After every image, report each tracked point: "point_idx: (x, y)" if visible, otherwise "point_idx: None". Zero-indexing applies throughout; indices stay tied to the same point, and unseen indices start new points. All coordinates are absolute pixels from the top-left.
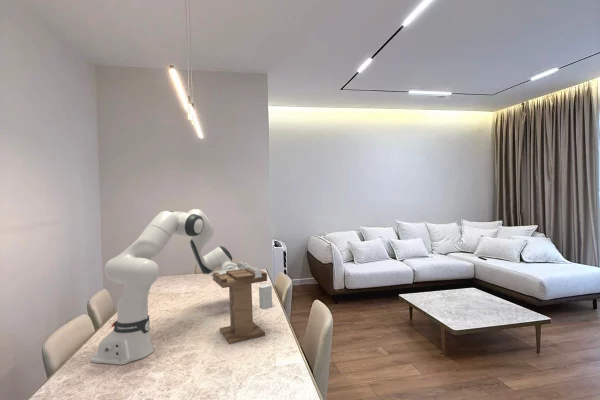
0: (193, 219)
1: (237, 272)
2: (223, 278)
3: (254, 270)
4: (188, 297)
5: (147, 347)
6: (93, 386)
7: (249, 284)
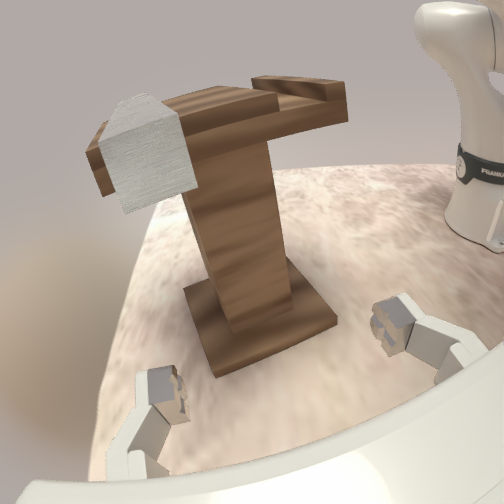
0: None
1: (210, 97)
2: (264, 77)
3: (143, 93)
4: None
5: (450, 204)
6: (442, 171)
7: None
